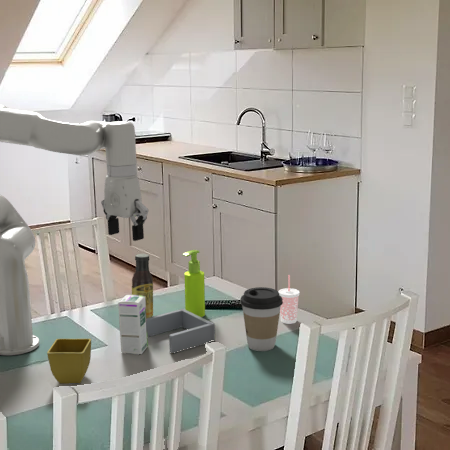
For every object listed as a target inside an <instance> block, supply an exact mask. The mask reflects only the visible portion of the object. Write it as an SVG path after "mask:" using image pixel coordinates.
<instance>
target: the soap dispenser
mask: <svg viewBox="0 0 450 450" xmlns="http://www.w3.org/2000/svg"><path fill="white" fill-rule="evenodd" d="M199 253H200V250H199V249H198V250H197V249H192V250H191V249H190V250H188V251H186V252H183V253H182V257H183V256H184V257H189V256H190V260H188V263H187V264H188V271H185V272H184V274H183V275H184V305H185V306H184V309H185V310H187V311H189V312H191V313H193V314H195V315H197V316H199V317H202V318H203V317H205V316H206V302H205V301H206V298H205V297H206V296H205V295H206V294H205V285H206V284H205V272H204V271H202V270H201V261H200V260H198V254H199Z"/></svg>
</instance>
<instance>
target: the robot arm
mask: <svg viewBox="0 0 450 450" xmlns="http://www.w3.org/2000/svg"><path fill="white" fill-rule="evenodd" d="M0 143H6V144H11V145H13V144H14V145H20V146H21V145H22V146H28V147H34V148H35V149H39V150H40V149H41V150H45V151H48V152H53V153H59V154H68V155H74V156H89V155H92V154H93V153H95V152H97V151H98V150H103V149H105V159H106V160H105V161H106V162H105V163H106V176H105V178H104V179H105V180H104V190H103V191H104V193H103V194H104V195H103V196H104V197H103V198H104V199H103V200H101V202H100V203H101V207H102V209H103V213H104V214H105V219H106V220H107V232H108V233H107V234H108V235H109V236H112V235H117V234H120V221H119V218H123V219H128V218H130V221H131V222H132V224H133V225H131V229H132V230H131V231H132V241H134V242H136V241H140V240H143V239H145V236H144V235H145V234H144V232H145V231H144V225H145V222H146V220H147V219H148V217H147V216H148V213H149V209H148V207H147V206H146V205H145V204H143V200H142V192H141V184H140V181H139V177H138V167H137V166H138V165H137V147H136V128H135V125H134V124H133V123H132V122H130V121H125V120H124V121H123V120H121V121H119V120H118V121H117V120H116V121H111V122H109V121H99V120H87V121H85V122H81V123H80V124H79V123H69V122H62V121H57V120H52V119H48V118H45V117H44V116H43V115H41V114H40V113H39V112H35V111H28V110H22V109H21V110H19V109H13V108H9V107H8V106H5V105H3V104H0ZM35 248H36V236H35V234H34V232H33V230H32V228H31V227H30V226H29V224H28V223H27V222H26V221H25V220H24V218H23V217H22V216H21V214H20V213H19V211H18V210H17V209H16V208H15V207H14V206H13V204H12V203H11V201H10V200H9V199H8V198H6V197H5V196H3V195H2V194H0V356H17V355H18V356H19V355H23V354H27V353H29V352H31V351H32V352H33V351H34V350H36V349H37V348H38V347H39V346H40V338H39V337H38V336H36V335H34V334H33V333H34V332H33V320H32V318H33V317H32V308H31V307H32V306H31V296H30V284H29V277H28V276H29V275H28V272H27V269H26V268H27V267H26V264H25V260H26V259H27V258H28V257H29V256H30V255H31V254H32V253H33V251H34V250H35Z"/></svg>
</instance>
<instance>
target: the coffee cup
mask: <svg viewBox="0 0 450 450" xmlns="http://www.w3.org/2000/svg"><path fill="white" fill-rule="evenodd" d="M278 291H279V290H276V289H275V288H271V287H265V286H264V287H263V286H262V287H261V286H260V287H259V286H257V287H251V288H249V289H246V290H245V291H244V292H243V295H241V297H240V301H239V304H240V305H241V306H242V313H243V320H244V329H245V334H246V335H245V336H246V341H247V347H248V348H249V349H250V350H252V351H255V352H256V351H257V352H267V351H272V350H273V349H275V345H276V342H277V336H278V335H277V334H278V329H279V321H280V316H281V315H280V307H281V305H282V304H283V301H282V300H283V299H282V297H281V296H280V295H279V292H278Z"/></svg>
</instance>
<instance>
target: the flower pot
mask: <svg viewBox="0 0 450 450" xmlns="http://www.w3.org/2000/svg"><path fill="white" fill-rule="evenodd" d="M46 354H47V359H48V364H49V368H50V371H51V374H52V376H53V377H54V379H55V380H56V381H57V383H59V384H62V385H65V384H69V383H79V384H81V383H82V382H83V380H84V378H85V376H86V374H87V372H88V368H89V366H90V363H91V356H92V355H91V354H92V338H56V339H55V340H54V342H53V343H52V345H51V346H50V348H49V349H48V350H47V352H46Z"/></svg>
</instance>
